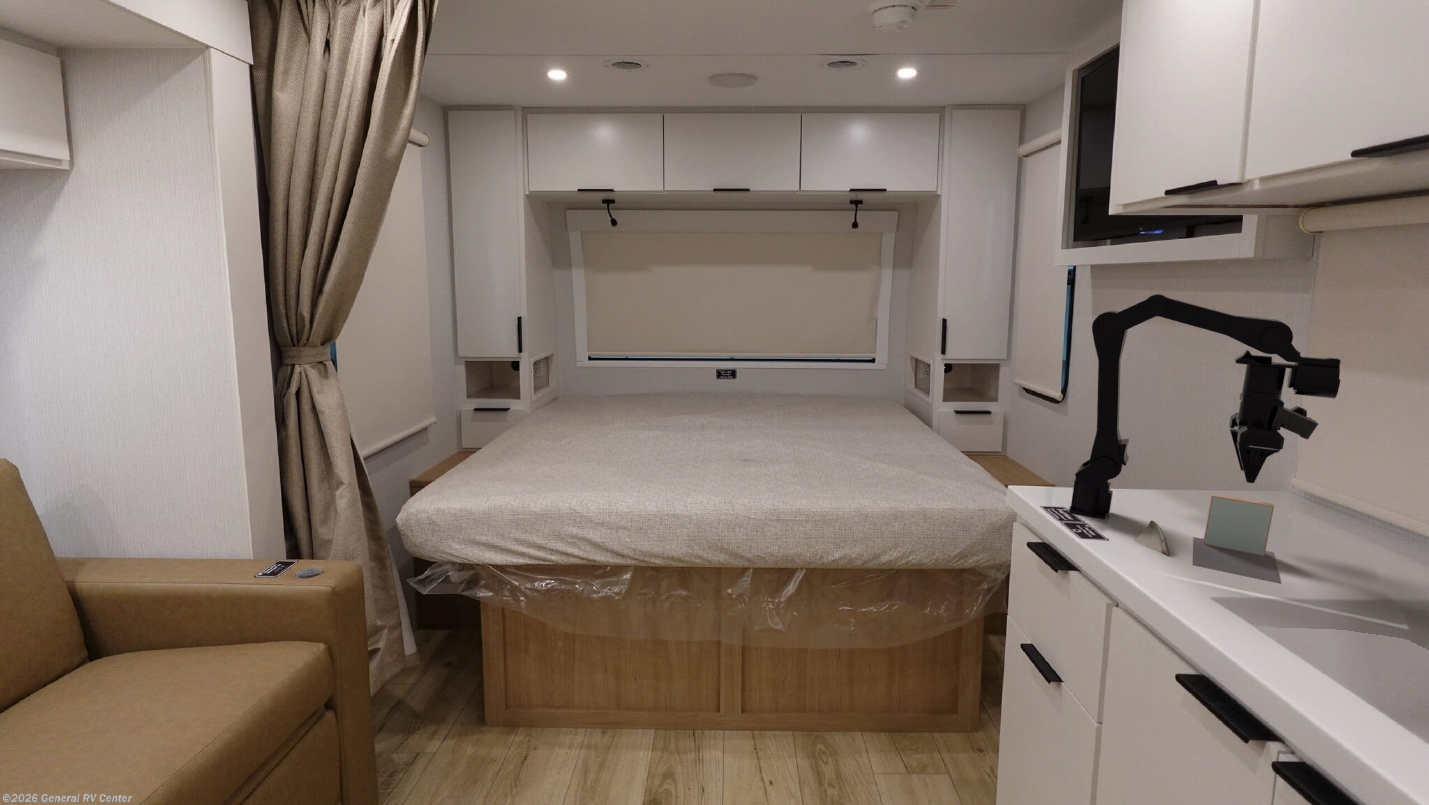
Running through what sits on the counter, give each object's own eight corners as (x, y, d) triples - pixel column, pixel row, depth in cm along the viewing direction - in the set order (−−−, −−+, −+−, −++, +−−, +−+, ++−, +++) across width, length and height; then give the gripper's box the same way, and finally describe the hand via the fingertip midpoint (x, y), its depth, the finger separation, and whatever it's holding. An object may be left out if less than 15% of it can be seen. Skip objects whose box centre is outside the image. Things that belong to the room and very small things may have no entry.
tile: (1203, 544, 139) (1211, 495, 137) (1203, 541, 141) (1211, 493, 139) (1264, 556, 135) (1274, 506, 133) (1263, 553, 136) (1273, 503, 134)
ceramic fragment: (1171, 561, 133) (1174, 539, 132) (1137, 556, 134) (1140, 534, 134) (1153, 535, 146) (1157, 515, 145) (1123, 531, 147) (1126, 511, 147)
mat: (1192, 567, 129) (1192, 564, 129) (1193, 539, 143) (1193, 537, 143) (1280, 586, 123) (1281, 583, 123) (1273, 555, 137) (1273, 552, 137)
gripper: (1329, 405, 127) (1311, 497, 130) (1308, 389, 143) (1293, 472, 146) (1247, 396, 132) (1232, 486, 135) (1235, 382, 148) (1222, 462, 151)
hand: (1247, 476), depth 141 cm, fingers open, 9 cm apart
